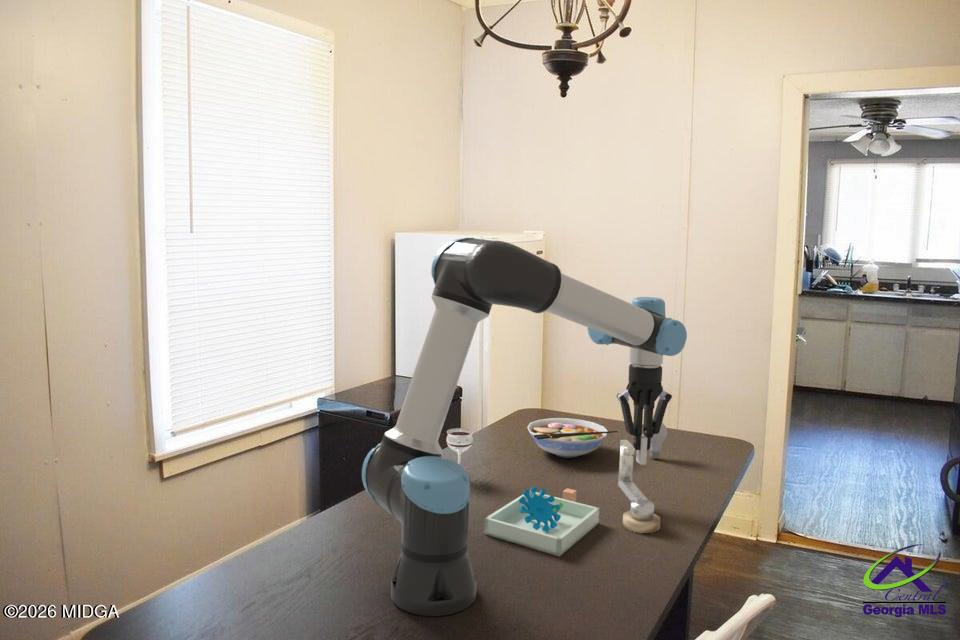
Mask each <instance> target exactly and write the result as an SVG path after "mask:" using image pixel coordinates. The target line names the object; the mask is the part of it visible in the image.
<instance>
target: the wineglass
mask: <svg viewBox="0 0 960 640" xmlns="http://www.w3.org/2000/svg"><path fill="white" fill-rule="evenodd" d="M446 433H447V436H446V444H447V446H448V447H449V448H450V449H451V451H453V452H455V453H456V454H457V463H458V464H460V465H461V460H462V459H461V458H462V456H461V455H462V454H463V453H464V452H466V451H468V450H469V449H470V448H471V447H472V445H473V441H474V438H473V436H472V435H473V434H474V432H473V430H471V429H469V428H463V427H462V428H461V427H460V428H459V427H456V428H450V429H448V430H447V431H446Z"/></svg>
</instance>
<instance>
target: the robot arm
mask: <svg viewBox="0 0 960 640" xmlns="http://www.w3.org/2000/svg"><path fill="white" fill-rule="evenodd" d="M433 257H434V258H433V260H432V262H431V263H432V264H431V273H430V274H431V277H432V279H433V284H434V288H433V290H432V291H433V292H432V293H431V297H430V298H431V300H432V301H433V303H434V307H435V309H434V313H433V316H432V319H431V322H430V325H429V327H428V330H427V333H426V336H425V338H424V342H423V345H422V348H421V351H420V353H419V357H418V359H417V362H416V365H415V368H414V370H413V374H412V377H411V380H410V382H409V385H408V389H407V392H406V395H405V398H404V401H403V404H402V406H401V409H400V412H399V414H398V417H397V421H396V424H395V425H394V426H393V428H390V429H388V430H387V431H385V432H384V433H383V436H382V440H381V442H380V443H378V444H377V445H376V446H375V447H372V449H370V451H369V452H367V455H366V457H365V458H364V460H363V463H362V468H361V480H362V481H361V482H362V483H363V487H364V489H365V491H366V492H367V494H368V496H370V498H371V499H372V500H373V501H374V503H376V504H377V505H378V506H380V507H381V508H383V509H384V510H385V511H386V512H388V513H389V514H390V515H392V516H393V517H394V518H395V519H396V520H398V521H399V522H400V524H401V536H400V537H401V541H400V542H401V548H400V549H401V552H400V555H399V558H398V561H397V563H396V566H395V569H394V572H393V575H392V577H391V580H390V598H391V601H392V603H393V604H394V605H395V606H396V607H398V608H399V609H401V610H403V611H405V612H407V613H410V614H413V615H417V616H423V617H424V616H425V617H442V616H443V617H444V616H450V615H453V614H456V613H460V612H461V611H464V610H466V609H467V608H469V607H470V606H471V605H472V604H473V603H474V602H475V600H476V598H477V579H476V577H475V574H474V570H473V567H472V563H471V559H470V556H469V554H468V552H469V551H468V548H469V547H468V546H469V545H468V544H469V518H470V517H469V514H470V513H469V512H470V498H471V489H470V477H469V474H468V472H467V470H466V469H465V467H464V466H462V465H461V463H460V464H458V461H457V462H456V461H455V460H453V459H449V458H443V457H442V454H443V449H442V447H441V445H440V442H439V438H440V436H441V433H442V429H443V427H444V424H445V421H446V419H447V415H448V412H449V409H450V406H451V403H452V400H453V397H454V394H455V392H456V388H457V387H458V386H457V385H458V382H459V379H460V377H461V373H462V371H463V368H464V365H465V361H466V359H467V355H468V352H469V350H470V347H471V345H472V340H473V338H474V335H475V332H476V330H477V326H478V325H479V322H481V321H483V320H484V319H487V318H489V316H490V312H491V310H492V307H493V305H496V306H503V307H504V306H506V307H513V308H518V309H522V310H526V311H529V312H531V313H533V314H534V313H535V314H543V313H545V312H547V313H549V314H552V315H555V316H558V317H560V318H563V319H566V320H568V321H571V322H573V323H575V324H578V325H581V326H584V327H586V328H587V332H588V335H589V338H590V340H591V341H592V342H593V343H594V344H596V345H606V346H609V345H613V344H614V345H619V346H624V347H628V348H629V361H628V362H629V363H630V364H629V365H628V382H627V383H628V384H627V385H626V390H624V391H623V392H622V393H617V394H616V398H617V399H618V402H619V404H620V406H621V411H622V417H623V421H624V428H625V431H626V432H627V434H629V435H630V436H633V444H632V445H633V446H634V447H635V450H636V454H635V455H636V456H635V459H636V460H635V462H637V463H638V464H639V465H640V466H646V465H647V456H648V455H647V453H648V452H647V451H648V450H649V451H650V445H651V438H652V437H653V435H654V434H658V433H659V431H660V428H661V424H662V423H663V420H664V418H665V413H666V410H667V408H668V404H669V402H670V401H671V400H672V398H673V395H672V394H671V393H669V392H667V391H666V390H664V386H663V385H662V381H663V367H662V364H663V363H664V361H663V360H664V356H667V357H668V356H669V357H674V356H676V355H678V354H680V353H681V352H682V351H683V350H684V348H685V346H686V343H687V342H686V341H687V338H688V334H687V333H688V332H687V329H686V326H685V325H684V324H683V322H681V321H680V320H677V319H673V318H672V317H667V316H666V302H665V300H664V299H663V298H659V297H654V296H652V297H651V296H638V297H637V296H636V297H633V298H632V300H631V302H628V301H626V300H623V299H621V298H619V297H616V296H614V295H613V294H610V293H608V292H605V291H602V290H600V289H599V288H597V287H594V286H591V285H589V284H587V283H584V282H583V281H580V280H577V279H575V278H573V277H571V276H569V275H566V274H564V273H562V270H561V269H560V267H559V266H558V265H557V264H555V263H553V262H550V261H549V260H547V259H545V258H542V257H540V256H538V255H536V254H534V253H532V252H530V251H528V250H526V249H523V248H522V247H519V246H518V245H515V244H513V243H510V242H507V241H502V240H492V239H491V240H488V239H482V238H475V237H464V238H463V237H462V238H458V239H454V240H451V241H449V242H447V243H445V244H444V245H442V246H441V247H440V248H439V249H438V251H437V252H436V253H435V256H433ZM630 398H631V400H632V402H633V417H632V411H631V407H630V403H629V401H630ZM657 400H658V401H657ZM656 401H657V404H656V408H655V402H656ZM654 409H655V411H654Z"/></svg>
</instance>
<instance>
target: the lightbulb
mask: <svg viewBox="0 0 960 640" xmlns="http://www.w3.org/2000/svg"><path fill="white" fill-rule="evenodd" d="M667 434H668V428H667V426H666V425H665V424H664V423H663V422H662V424H661V428H660V431H659V433H658V434H654V435H653V437H652V438H651V445H650V450H649V457H650V458H651V459H652V460H657V459H658V458H659V457H660V451H661V449H662V445H663V443H664V441H665V440H666V438H667Z"/></svg>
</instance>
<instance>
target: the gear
mask: <svg viewBox="0 0 960 640" xmlns="http://www.w3.org/2000/svg"><path fill="white" fill-rule="evenodd" d="M530 491H531V492H532V497H530V495H529V494H530ZM530 491H529V489H525V490H523V492H522V495H524V496H525V497H526V498H527V500H528V502H527V501H526V499H525V497H524V496H522V497H521V498H520V499H519V502H520V503H522V504H524V505H525V506H526V507H527V508H528V510H527V509H526V508H525V507H524V506H521V507H520V513H528V514H530V515H529V516H526V517H525V518H524V519H525V521H526V523H529V522H530V521H531V520H536V521H537V523H535V524H534V525H533V528H534V529H536V530H538V529H539V528H540V523H541V522H543V523H544V527H543V528H542V530H543V531H545V532H548V531H549V530H550V528H549V526H548V520H549V521H550V527H551V528H552V529H553V528H555V527H556V526H557V523H556V522H555V521H558V520H560V518H561V516H560V515H559V514H557V512H558V511H559V510H560V509H561V508H562V507H563V504H562V503H559V504H558V505H552V504H550V503H549V502H553V501H554V500H555V498H554V497H555V496H554V495H553V494H552V495H551V494H550V495H549V496H550V497H548V498H543V496H544V495H547V493H548V491H547V490H546V489H544V488H541V490H539V493H540V495H539V496H537V495H536V492H538V488H537V487H535V486H532V487H531V488H530ZM548 501H549V502H548ZM552 516H553V517H554V519H555V521H554V520H553V518H552Z"/></svg>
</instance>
